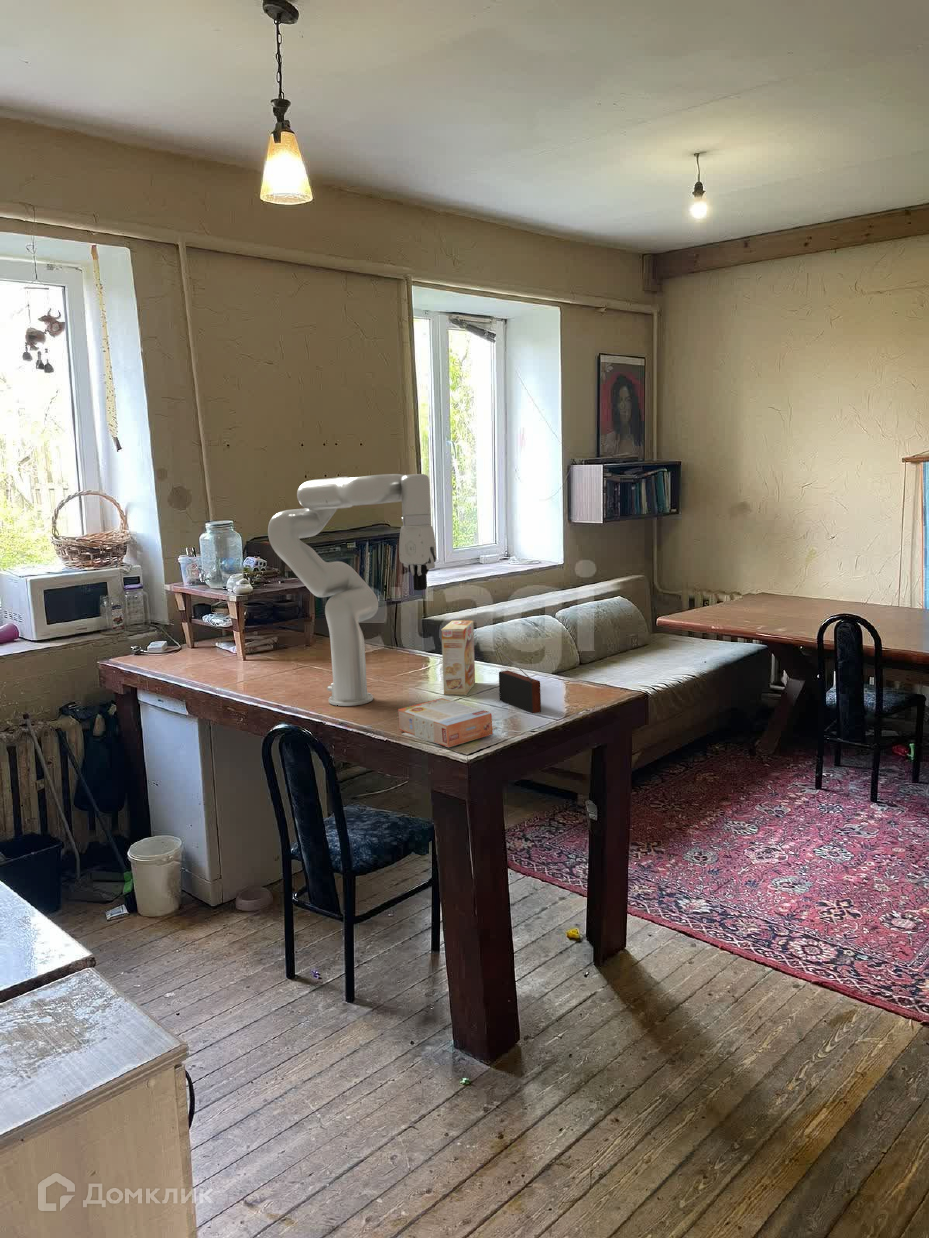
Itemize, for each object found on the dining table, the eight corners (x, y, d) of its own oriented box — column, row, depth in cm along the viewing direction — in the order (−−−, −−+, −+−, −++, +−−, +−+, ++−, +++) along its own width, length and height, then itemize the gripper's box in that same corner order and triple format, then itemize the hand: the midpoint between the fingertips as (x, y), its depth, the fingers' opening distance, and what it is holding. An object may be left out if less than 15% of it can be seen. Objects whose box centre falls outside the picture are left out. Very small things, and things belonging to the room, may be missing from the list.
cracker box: (398, 731, 231) (448, 748, 214) (397, 708, 230) (446, 724, 213) (443, 719, 239) (494, 735, 223) (441, 697, 238) (492, 711, 222)
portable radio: (542, 712, 244) (540, 657, 241) (532, 713, 242) (531, 658, 240) (505, 697, 260) (503, 646, 257) (495, 699, 258) (494, 647, 256)
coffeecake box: (466, 695, 264) (464, 629, 260) (442, 695, 265) (440, 629, 262) (476, 682, 278) (474, 619, 275) (453, 682, 280) (451, 619, 276)
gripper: (387, 521, 244) (390, 589, 247) (427, 522, 234) (430, 593, 238) (407, 519, 250) (410, 586, 253) (447, 520, 240) (450, 589, 243)
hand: (420, 589), depth 245 cm, fingers closed
